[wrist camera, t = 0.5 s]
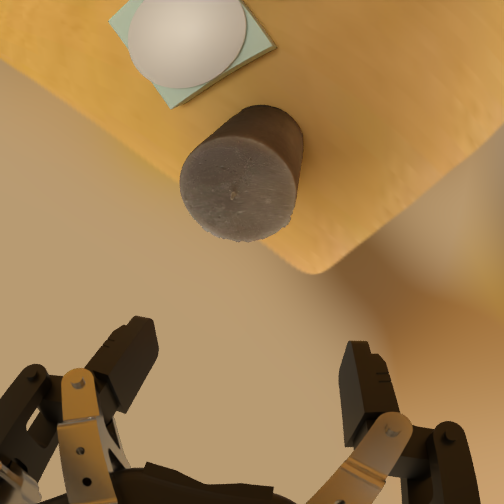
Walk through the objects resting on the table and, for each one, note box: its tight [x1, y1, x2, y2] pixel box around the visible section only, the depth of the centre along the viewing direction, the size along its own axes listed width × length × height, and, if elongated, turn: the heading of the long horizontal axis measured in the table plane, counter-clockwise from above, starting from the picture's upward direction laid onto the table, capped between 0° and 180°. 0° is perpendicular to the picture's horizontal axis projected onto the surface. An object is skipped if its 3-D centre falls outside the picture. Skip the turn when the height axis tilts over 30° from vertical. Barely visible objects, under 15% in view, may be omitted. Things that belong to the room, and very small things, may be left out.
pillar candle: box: [180, 105, 303, 242], centre depth 27 cm, size 10×10×15 cm
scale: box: [108, 0, 277, 109], centre depth 22 cm, size 16×13×5 cm
